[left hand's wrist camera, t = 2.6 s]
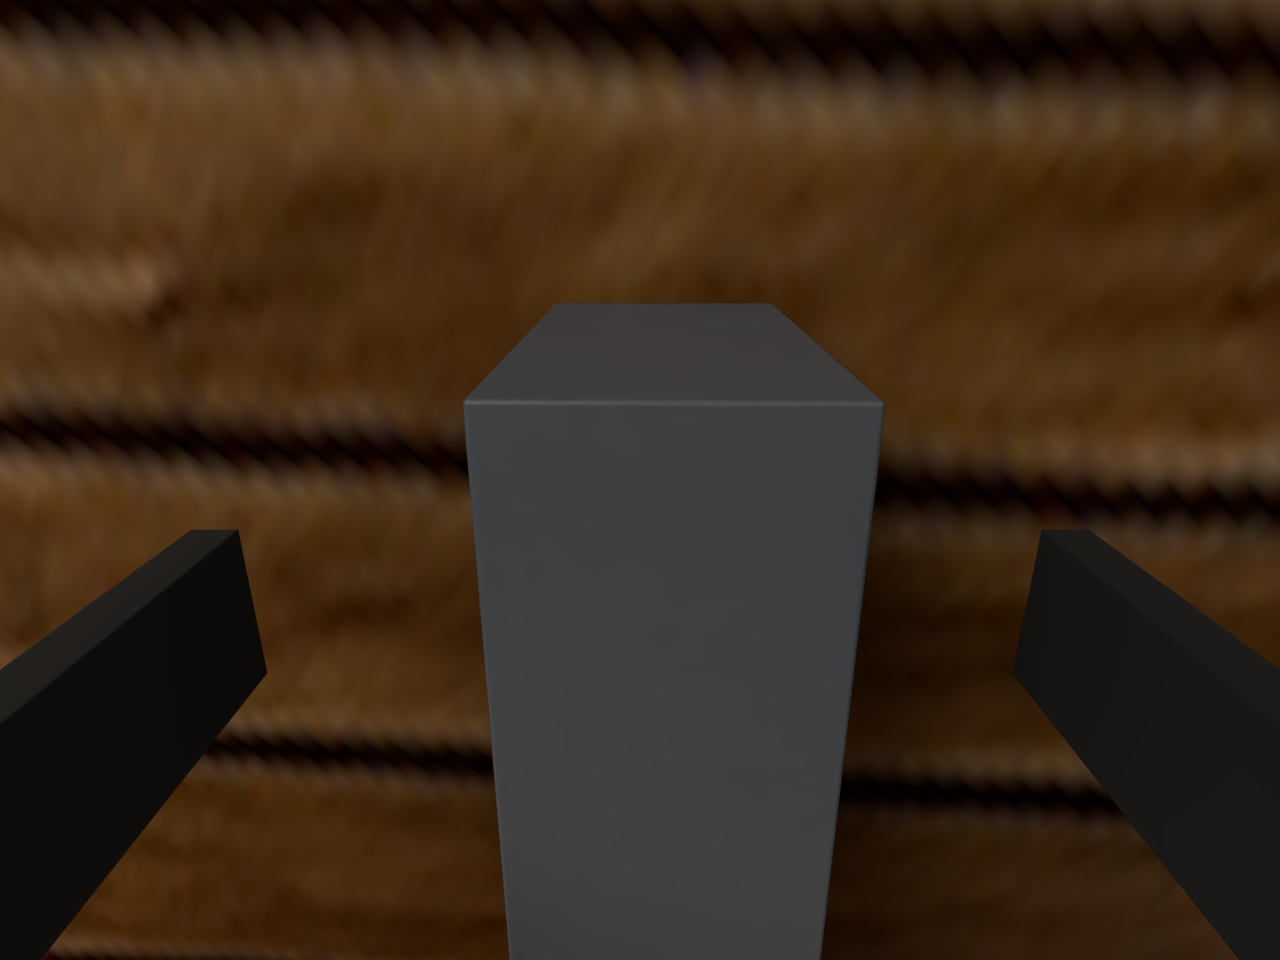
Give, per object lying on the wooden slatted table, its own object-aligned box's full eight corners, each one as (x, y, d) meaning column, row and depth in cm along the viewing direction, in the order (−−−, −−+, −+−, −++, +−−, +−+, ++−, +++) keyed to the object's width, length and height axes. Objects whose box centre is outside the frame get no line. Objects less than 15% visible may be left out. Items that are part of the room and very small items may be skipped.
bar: (555, 302, 16) (460, 399, 8) (773, 303, 16) (888, 400, 8) (584, 1084, 25) (553, 1488, 17) (726, 1087, 25) (758, 1494, 17)
